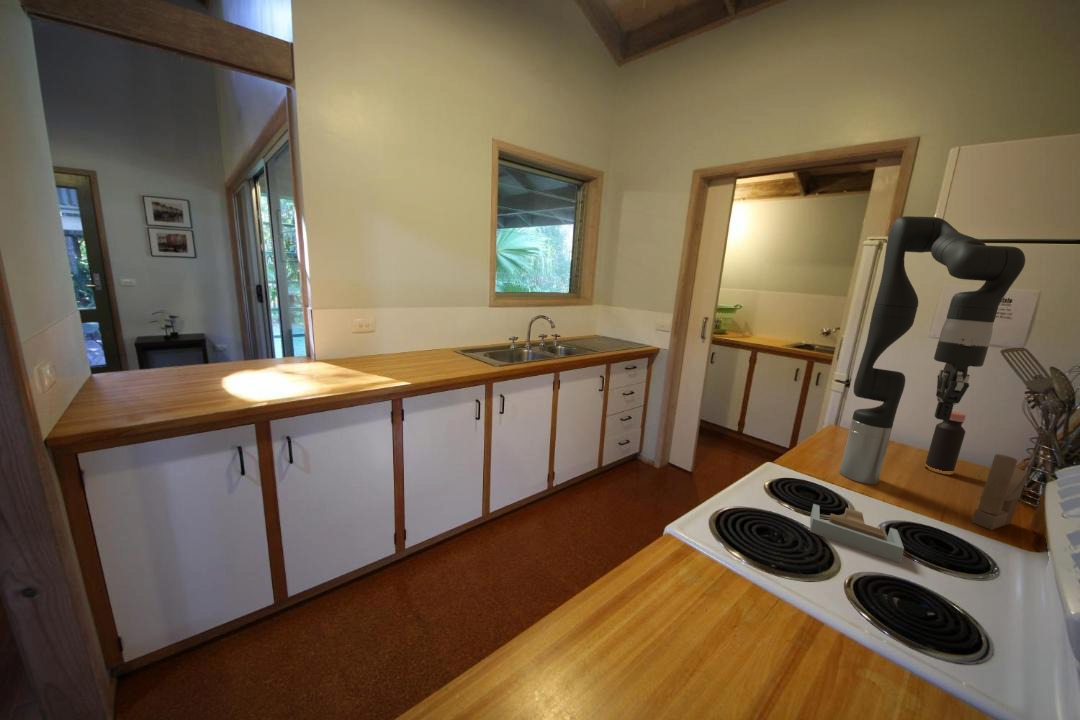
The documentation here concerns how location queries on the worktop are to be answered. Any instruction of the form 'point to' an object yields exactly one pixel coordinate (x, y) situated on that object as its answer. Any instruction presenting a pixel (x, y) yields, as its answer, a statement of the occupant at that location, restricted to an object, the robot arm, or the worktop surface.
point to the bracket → (858, 537)
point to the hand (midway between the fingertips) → (941, 419)
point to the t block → (856, 523)
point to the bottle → (946, 443)
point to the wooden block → (1000, 493)
